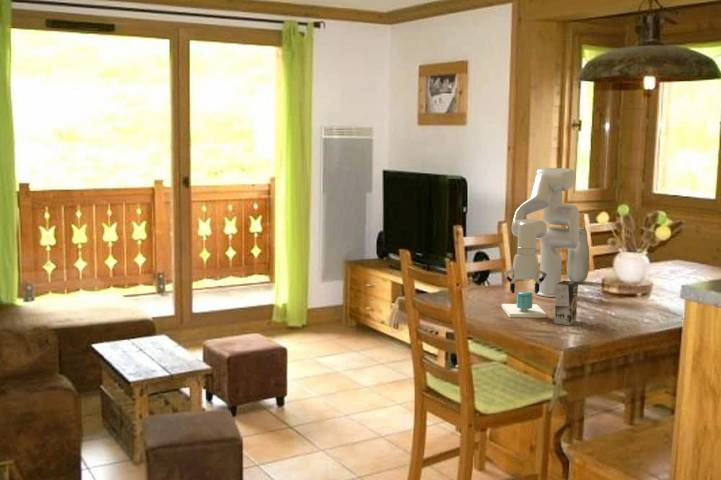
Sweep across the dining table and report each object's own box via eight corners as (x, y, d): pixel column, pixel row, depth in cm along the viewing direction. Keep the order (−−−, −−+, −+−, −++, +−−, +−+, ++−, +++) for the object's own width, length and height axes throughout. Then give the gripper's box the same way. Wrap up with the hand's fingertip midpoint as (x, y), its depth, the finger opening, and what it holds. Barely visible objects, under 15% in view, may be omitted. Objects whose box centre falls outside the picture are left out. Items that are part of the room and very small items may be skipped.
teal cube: (529, 305, 326) (530, 291, 325) (533, 309, 320) (533, 294, 319) (515, 305, 326) (516, 291, 325) (518, 308, 320) (519, 294, 319)
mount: (536, 307, 336) (537, 289, 335) (546, 317, 318) (547, 298, 317) (501, 307, 336) (502, 289, 335) (509, 317, 318) (510, 298, 317)
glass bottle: (570, 279, 399) (573, 225, 395) (590, 282, 393) (593, 227, 389) (563, 282, 391) (566, 227, 387) (583, 285, 386) (586, 229, 382)
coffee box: (569, 325, 306) (571, 285, 303) (553, 323, 309) (555, 283, 307) (576, 320, 313) (578, 281, 311) (561, 318, 317) (562, 279, 315)
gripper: (545, 251, 324) (543, 291, 326) (503, 250, 323) (501, 290, 326) (549, 253, 316) (547, 295, 318) (507, 252, 316) (505, 294, 318)
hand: (524, 292), depth 322 cm, fingers open, 9 cm apart
